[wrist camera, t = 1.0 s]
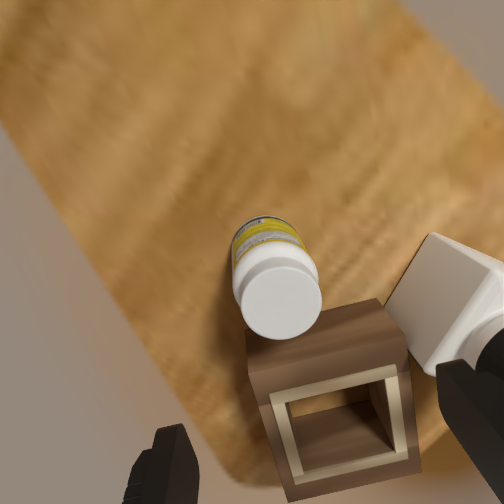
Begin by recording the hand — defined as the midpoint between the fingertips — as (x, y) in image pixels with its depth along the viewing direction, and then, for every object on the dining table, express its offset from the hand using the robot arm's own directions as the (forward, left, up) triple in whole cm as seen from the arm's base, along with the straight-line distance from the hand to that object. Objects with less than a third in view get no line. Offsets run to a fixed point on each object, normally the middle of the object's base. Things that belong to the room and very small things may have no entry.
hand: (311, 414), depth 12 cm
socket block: (+12, +2, -15) cm, 19 cm away
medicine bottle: (+7, +12, -16) cm, 21 cm away
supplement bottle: (0, 0, -16) cm, 16 cm away
